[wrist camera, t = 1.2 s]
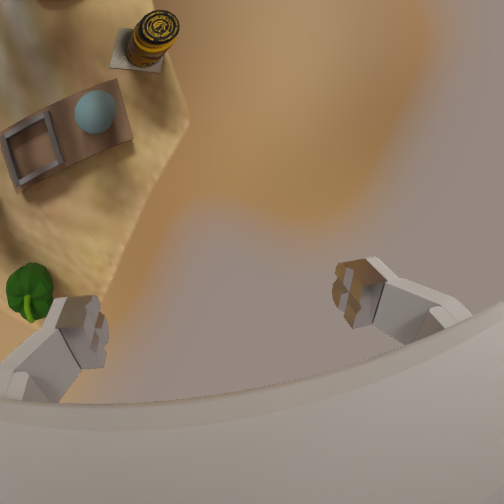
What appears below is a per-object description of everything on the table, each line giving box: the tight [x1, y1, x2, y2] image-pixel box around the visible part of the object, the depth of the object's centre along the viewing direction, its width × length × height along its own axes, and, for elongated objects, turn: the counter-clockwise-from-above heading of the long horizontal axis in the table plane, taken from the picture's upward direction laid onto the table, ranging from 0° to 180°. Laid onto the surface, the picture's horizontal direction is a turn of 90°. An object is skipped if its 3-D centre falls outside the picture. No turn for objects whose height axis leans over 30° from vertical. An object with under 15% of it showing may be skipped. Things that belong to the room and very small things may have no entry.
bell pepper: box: [6, 263, 53, 323], centre depth 35 cm, size 8×8×10 cm
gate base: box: [0, 78, 133, 194], centre depth 30 cm, size 20×10×12 cm, turn 105°
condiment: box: [109, 10, 179, 73], centre depth 31 cm, size 7×8×12 cm
